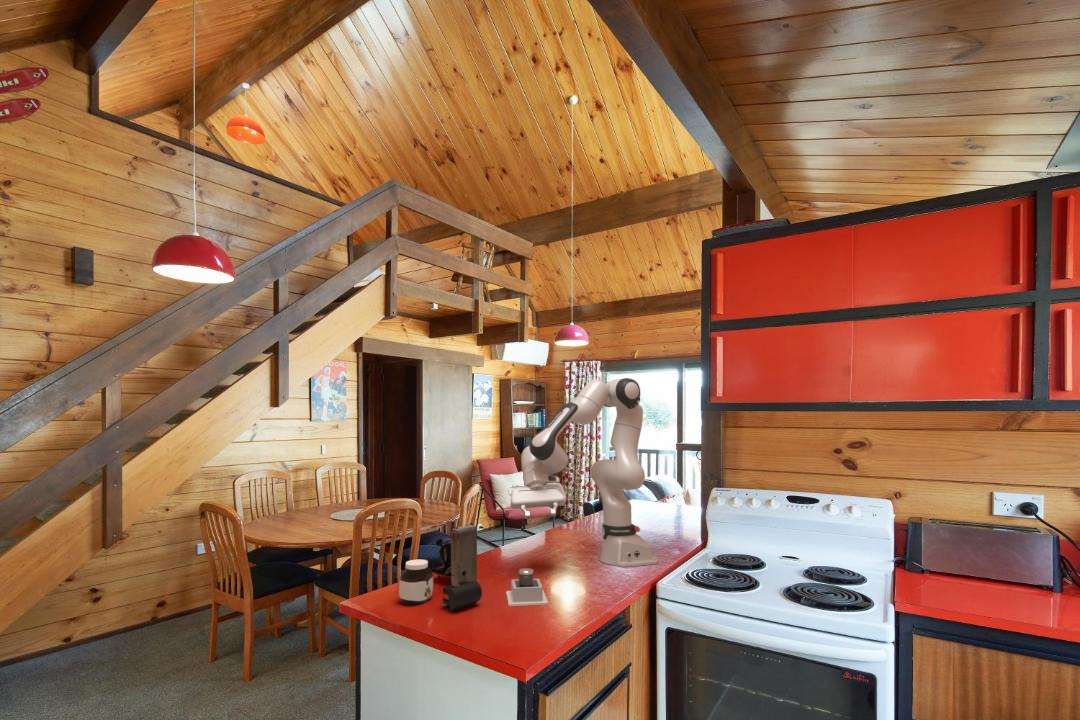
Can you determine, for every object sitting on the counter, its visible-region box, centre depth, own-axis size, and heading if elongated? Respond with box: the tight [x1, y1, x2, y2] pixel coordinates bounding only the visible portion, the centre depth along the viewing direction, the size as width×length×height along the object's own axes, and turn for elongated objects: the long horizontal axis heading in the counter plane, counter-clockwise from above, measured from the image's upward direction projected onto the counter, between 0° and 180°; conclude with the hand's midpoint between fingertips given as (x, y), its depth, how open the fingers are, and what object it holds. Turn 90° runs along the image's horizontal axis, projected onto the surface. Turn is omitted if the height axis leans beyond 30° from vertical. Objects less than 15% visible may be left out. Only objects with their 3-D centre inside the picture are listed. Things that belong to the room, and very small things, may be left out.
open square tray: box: [505, 578, 549, 607], centre depth 169 cm, size 12×12×5 cm
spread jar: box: [398, 559, 434, 606], centre depth 169 cm, size 12×11×12 cm
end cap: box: [442, 581, 483, 612], centre depth 162 cm, size 10×7×7 cm
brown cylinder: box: [518, 567, 534, 587], centre depth 170 cm, size 4×4×8 cm
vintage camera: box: [430, 522, 478, 586], centre depth 186 cm, size 10×15×20 cm, turn 54°
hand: (540, 516), depth 191 cm, fingers open, 8 cm apart
